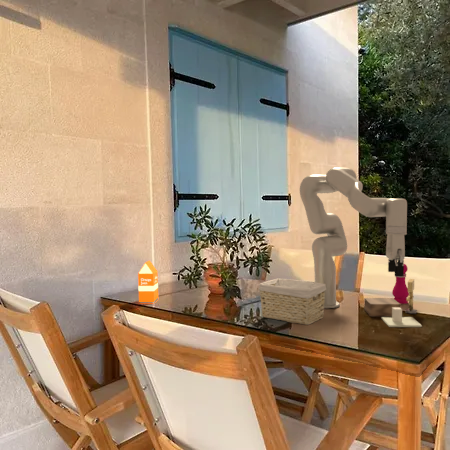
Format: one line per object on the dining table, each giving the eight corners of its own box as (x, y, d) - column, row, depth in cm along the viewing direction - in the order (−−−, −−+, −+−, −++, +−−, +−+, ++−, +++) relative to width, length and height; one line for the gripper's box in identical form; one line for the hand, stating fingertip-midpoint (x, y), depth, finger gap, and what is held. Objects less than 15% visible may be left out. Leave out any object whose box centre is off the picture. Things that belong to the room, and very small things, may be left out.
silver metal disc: (407, 313, 194) (407, 311, 193) (404, 311, 198) (404, 309, 198) (418, 313, 193) (418, 311, 193) (414, 311, 197) (414, 309, 197)
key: (411, 314, 188) (411, 283, 188) (406, 313, 189) (406, 283, 189) (414, 307, 199) (414, 279, 198) (409, 307, 199) (409, 278, 199)
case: (370, 316, 191) (370, 304, 191) (363, 309, 203) (363, 297, 203) (401, 316, 190) (401, 304, 190) (392, 309, 202) (392, 297, 202)
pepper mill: (410, 304, 210) (410, 260, 209) (393, 304, 212) (393, 260, 210) (407, 300, 217) (407, 258, 216) (391, 300, 219) (391, 258, 217)
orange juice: (158, 299, 233) (157, 260, 232) (154, 303, 225) (153, 262, 223) (143, 299, 234) (142, 260, 233) (138, 303, 225) (137, 262, 224)
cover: (389, 328, 175) (389, 312, 175) (381, 319, 187) (381, 304, 187) (421, 328, 174) (422, 312, 174) (412, 320, 186) (412, 304, 186)
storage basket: (328, 318, 190) (327, 282, 189) (309, 327, 177) (308, 289, 177) (278, 310, 205) (277, 277, 204) (257, 318, 192) (256, 283, 191)
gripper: (381, 228, 189) (380, 270, 190) (392, 232, 172) (391, 278, 173) (400, 228, 188) (399, 270, 189) (412, 232, 171) (412, 278, 172)
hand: (395, 273), depth 181 cm, fingers open, 9 cm apart
